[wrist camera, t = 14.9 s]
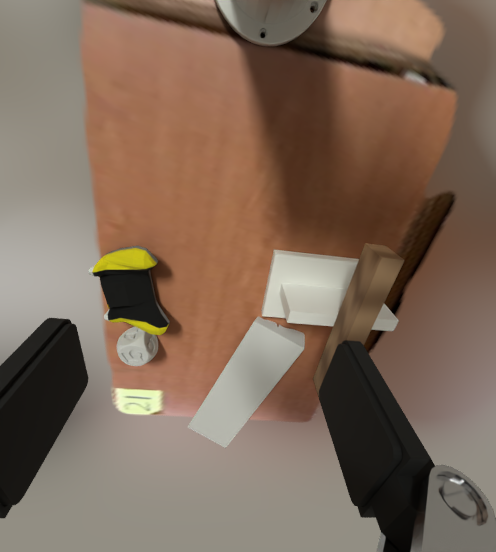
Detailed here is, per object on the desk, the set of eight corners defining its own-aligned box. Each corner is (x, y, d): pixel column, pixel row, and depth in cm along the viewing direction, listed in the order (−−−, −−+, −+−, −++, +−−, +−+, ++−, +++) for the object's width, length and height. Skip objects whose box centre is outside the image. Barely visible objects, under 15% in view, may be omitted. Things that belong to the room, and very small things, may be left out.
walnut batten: (365, 243, 31) (381, 257, 27) (385, 245, 31) (404, 260, 28) (312, 378, 43) (319, 401, 39) (328, 379, 43) (336, 402, 39)
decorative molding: (195, 409, 64) (230, 429, 64) (187, 427, 60) (225, 448, 60) (258, 307, 50) (304, 332, 50) (254, 321, 45) (304, 348, 45)
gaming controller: (161, 238, 39) (94, 240, 39) (151, 254, 34) (74, 255, 34) (175, 317, 47) (119, 319, 46) (169, 339, 42) (105, 341, 41)
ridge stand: (274, 249, 41) (283, 278, 33) (392, 262, 43) (428, 292, 35) (261, 310, 46) (266, 347, 39) (366, 319, 49) (392, 356, 41)
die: (123, 329, 47) (112, 349, 43) (149, 322, 47) (140, 342, 42) (136, 348, 50) (127, 369, 45) (161, 341, 49) (154, 362, 45)
